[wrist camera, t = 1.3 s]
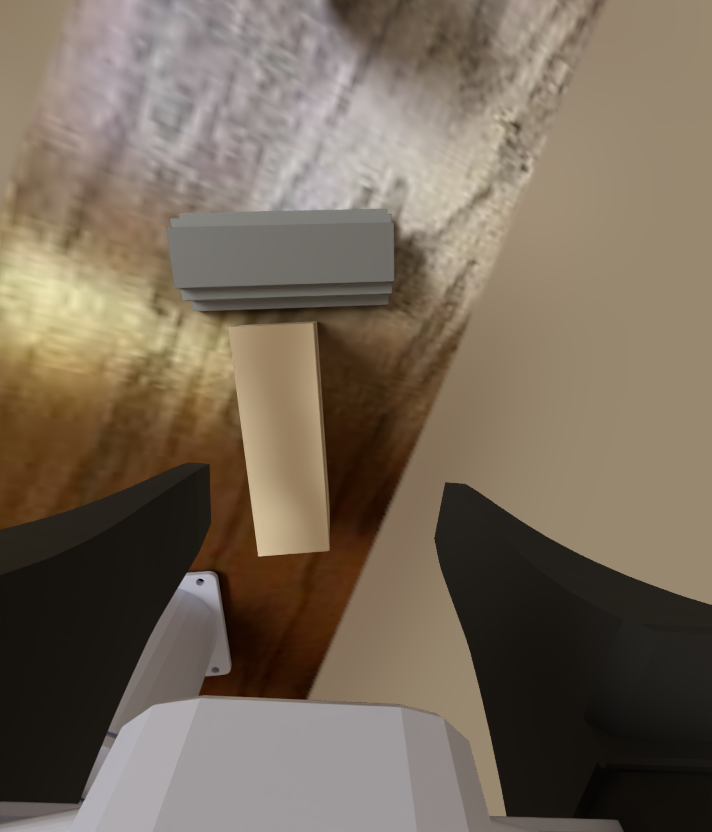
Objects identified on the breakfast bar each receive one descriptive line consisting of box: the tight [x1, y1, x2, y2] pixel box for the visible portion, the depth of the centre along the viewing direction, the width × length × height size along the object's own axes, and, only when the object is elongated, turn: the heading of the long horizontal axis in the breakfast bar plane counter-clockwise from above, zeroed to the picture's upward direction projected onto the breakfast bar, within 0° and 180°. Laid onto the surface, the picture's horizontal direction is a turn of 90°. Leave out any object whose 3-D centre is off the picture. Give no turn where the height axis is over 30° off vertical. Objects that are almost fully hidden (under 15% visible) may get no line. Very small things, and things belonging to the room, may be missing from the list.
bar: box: [228, 321, 330, 556], centre depth 20 cm, size 4×11×5 cm, turn 3°
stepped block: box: [166, 209, 394, 311], centre depth 18 cm, size 10×4×3 cm, turn 92°
